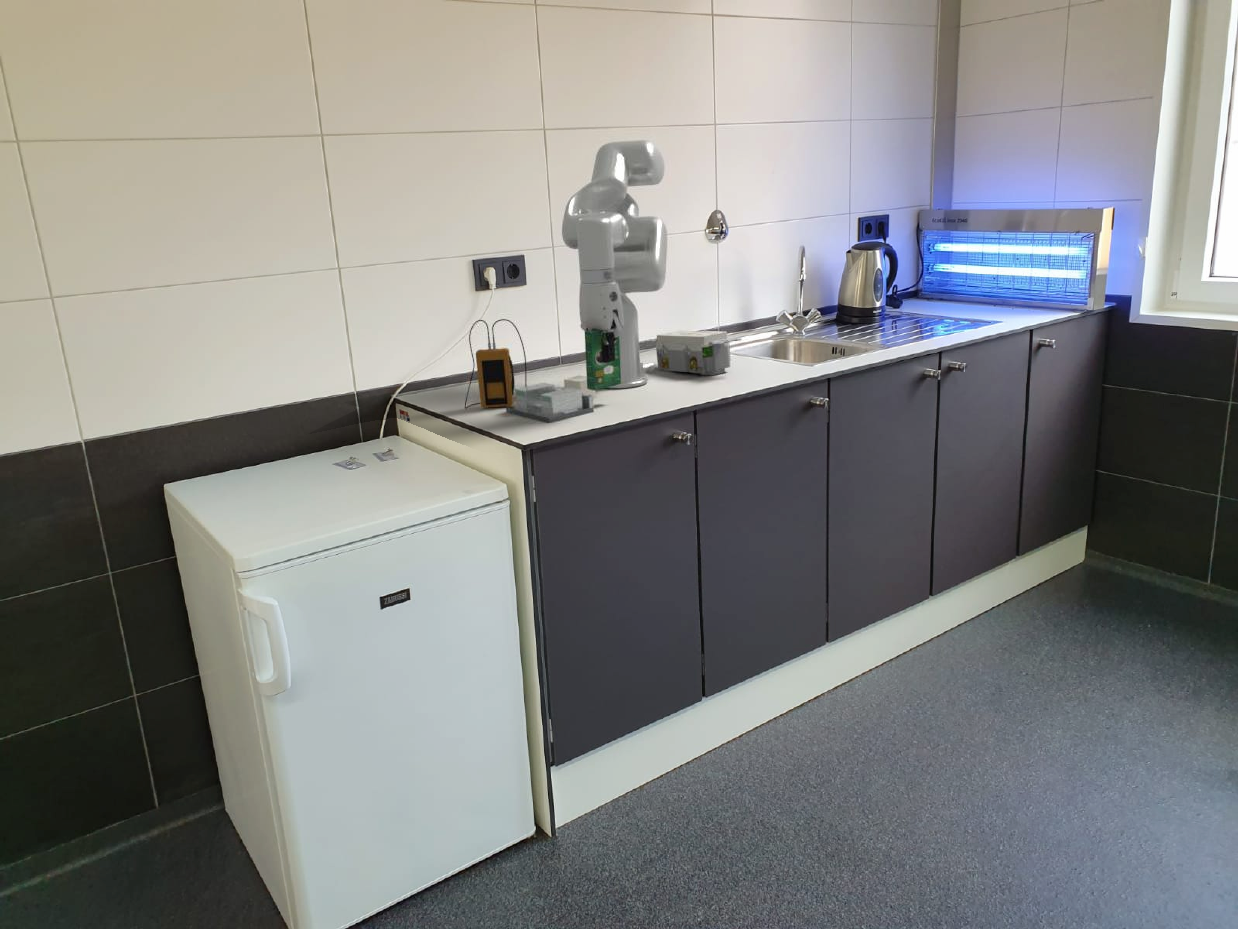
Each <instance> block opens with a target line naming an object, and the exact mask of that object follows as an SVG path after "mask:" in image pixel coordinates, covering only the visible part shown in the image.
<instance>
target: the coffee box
mask: <svg viewBox="0 0 1238 929" xmlns="http://www.w3.org/2000/svg"><path fill="white" fill-rule="evenodd" d="M607 334H608V336H609V334H610V332H609V333H607ZM602 345H604V343H603V337H602V331H601V330H595V329H593V330H587V331H584V347H585V348H584V349H585V365H586V366H585V368H586V370H585V371H586V376H587V389H589V390H593V391H594V390H595V391H598V390H602V389H605V388H606V387H610V386H615V385H618V384H621V370H620V341H619V336H618V338H617V339H616V343H614V346H615V361H611V362H608V363H603V359H602ZM606 389H607V388H606Z"/></svg>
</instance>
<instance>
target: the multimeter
mask: <svg viewBox="0 0 1238 929" xmlns="http://www.w3.org/2000/svg"><path fill="white" fill-rule="evenodd" d="M501 321H502V322H503V321H506V322H508V323H511V325H512V326H513V327H514V328H515V330H516V332H517V335H518V336H519V339H520V342H521V345H522V346H521V347H522V350H523V356H524V369H525V370H524V372H525V375H524V376H525V378H524V380H525V382H524V383H525V385H524V387H526V386H527V358H526V357H527V356H526V351H525V347H524V342H523V340H522V337H521V335H520V331H519V330H518V328H517V326H516V325H515V324H514V322H512V321H511V320H509V319H507V318H506V319H505V318H501V319H499V320H496V321H495V322H494V323H493V324H492V327H491V331H492V343H491V340H490V338H491V337H490V332H489V330H490V329H489V325H488V323H487V322H486V321H485V320H483V319H479V320H476V321H475V322H474V323H473V324H472V326H471V328H470V331H469V335H468V336H469V337H468V342H469V349H470V354H471V357H472V362H473V363H472V364H473V365H472V366H473V369H472V372H471V376H470V381H469V384H468V388H467V393H466V397H465V402H464V409H465V410H467V409H468V408H469V407H472V406H475V405H479V404H480V406H481V408H482V409H488V408H500V407H501V408H502V407H503V408H504V407H510V406H514V400H516V397H514V393H515V375H514V374H515V372H514V365H513V361H512V359H511V355H510V349H509V348H507V347H503V348H497V346H496V341H495V334H494V326H495V325H496V324H497V323H499V322H501ZM478 322H483V323H484V324H485V326H486V329H487V341H488V343H487V347H488V349H487V348H486V349H478V350H477V351H476V352H475V358H474V353H473V349H472V343H471V334H472V330H473V328H474V326H475V325H476V324H477V323H478ZM475 360H476V361H475ZM475 362H476V365H475ZM475 366H476V369H477V371H476V372H477V379H478V380H477V382H478V390H479V397H480V402H476V403H473V404H470V405H467V401H468V398H469V391H470V387H471V383H472V379H473V375H474V373H475V372H474V371H475Z"/></svg>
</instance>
